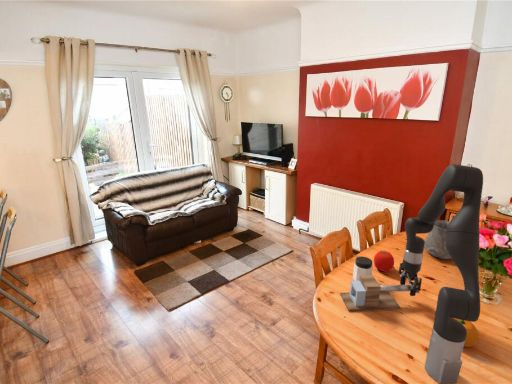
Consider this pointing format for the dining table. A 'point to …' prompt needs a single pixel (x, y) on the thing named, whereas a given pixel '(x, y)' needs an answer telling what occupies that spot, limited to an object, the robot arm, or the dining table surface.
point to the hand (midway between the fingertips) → (407, 289)
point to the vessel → (438, 240)
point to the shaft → (396, 288)
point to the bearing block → (371, 297)
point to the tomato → (383, 261)
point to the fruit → (469, 333)
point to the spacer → (357, 293)
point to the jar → (362, 267)
